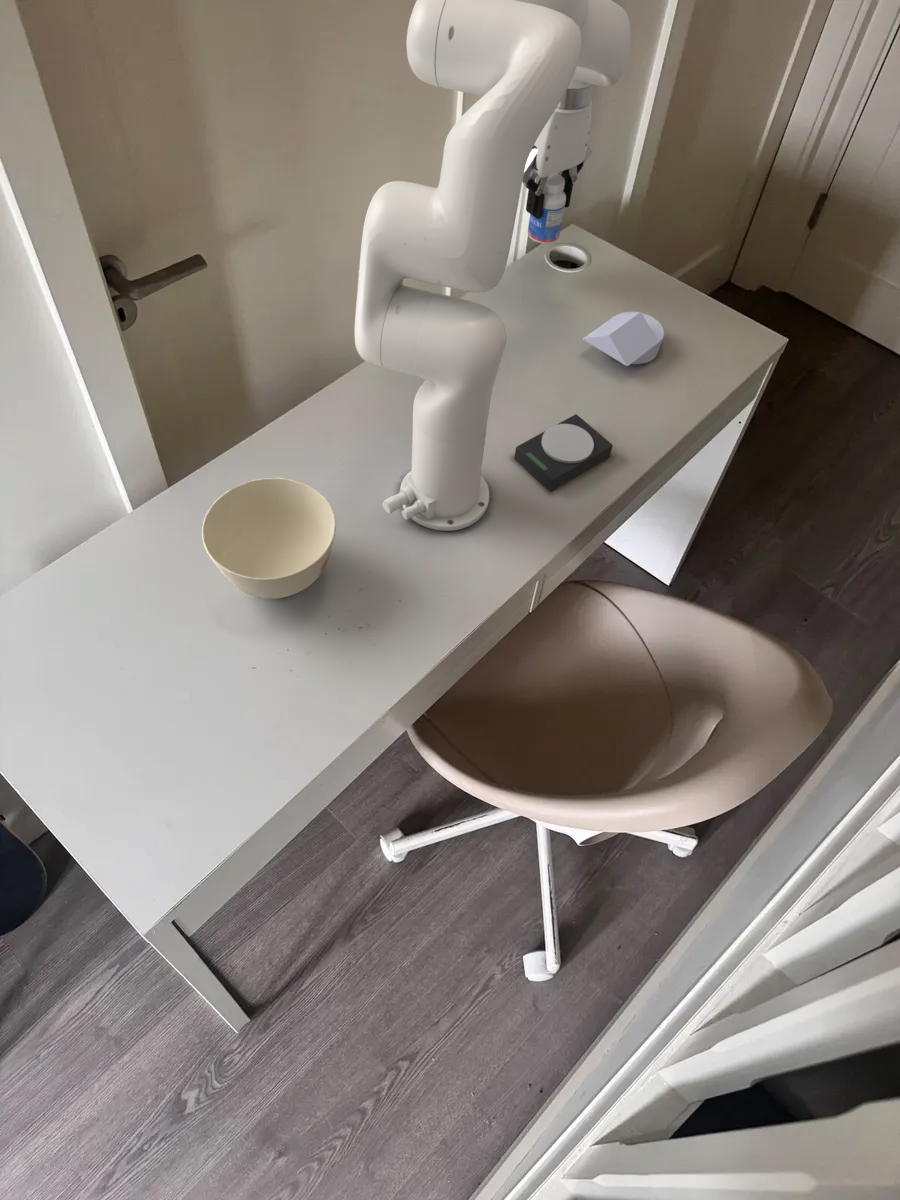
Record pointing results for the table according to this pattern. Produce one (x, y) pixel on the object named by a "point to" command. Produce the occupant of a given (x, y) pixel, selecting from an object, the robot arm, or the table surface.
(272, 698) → the table surface
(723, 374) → the table surface
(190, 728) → the table surface
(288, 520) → the bowl
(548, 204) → the pill bottle
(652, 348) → the wedge on round base
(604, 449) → the scale
